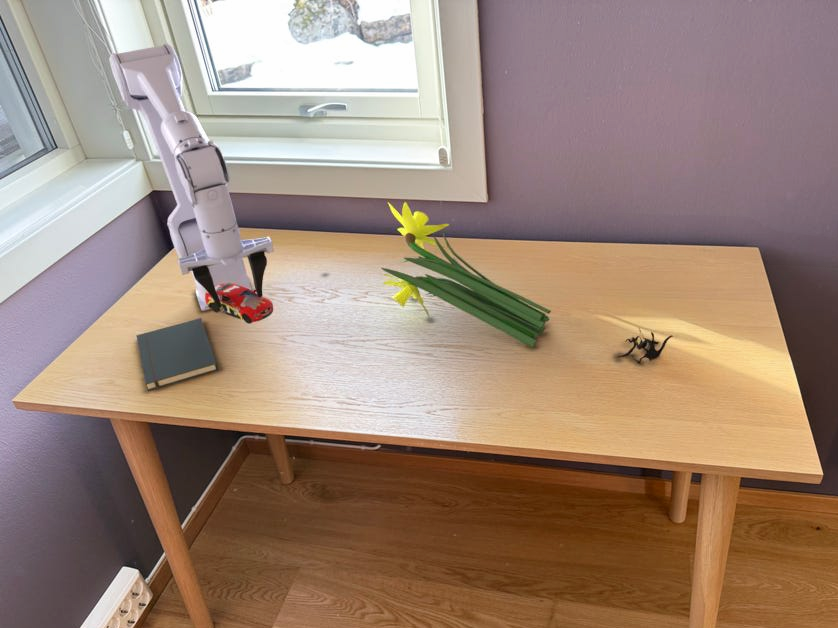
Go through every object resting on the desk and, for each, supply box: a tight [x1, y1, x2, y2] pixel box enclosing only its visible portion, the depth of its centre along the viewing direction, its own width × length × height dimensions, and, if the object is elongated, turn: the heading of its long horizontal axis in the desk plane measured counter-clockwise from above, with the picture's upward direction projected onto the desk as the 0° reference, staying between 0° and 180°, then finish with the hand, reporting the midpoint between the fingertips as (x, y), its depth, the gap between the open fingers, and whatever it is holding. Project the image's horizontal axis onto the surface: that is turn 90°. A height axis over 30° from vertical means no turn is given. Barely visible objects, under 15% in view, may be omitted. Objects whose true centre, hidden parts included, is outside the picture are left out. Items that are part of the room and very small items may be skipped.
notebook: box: [136, 317, 219, 392], centre depth 128 cm, size 11×16×1 cm
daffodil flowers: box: [378, 201, 552, 348], centre depth 130 cm, size 17×15×35 cm
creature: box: [618, 328, 674, 364], centre depth 120 cm, size 8×5×8 cm
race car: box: [205, 283, 274, 325], centre depth 127 cm, size 13×5×4 cm, turn 57°
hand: (239, 299), depth 126 cm, fingers closed on race car, 6 cm apart
